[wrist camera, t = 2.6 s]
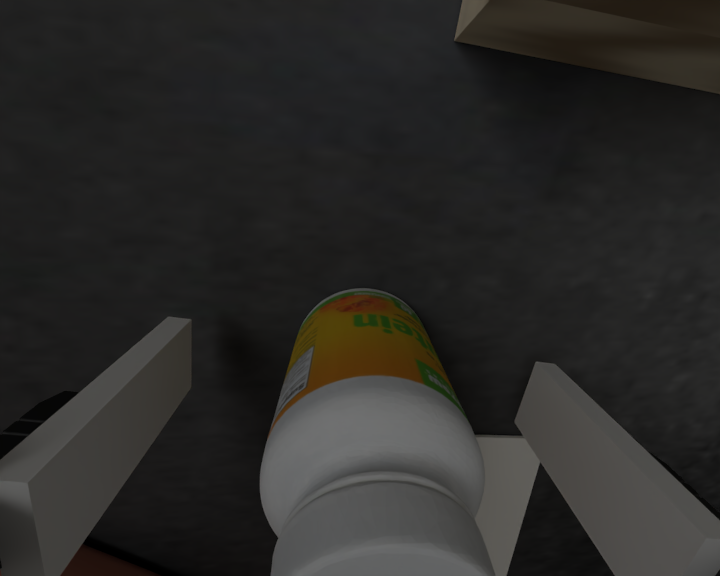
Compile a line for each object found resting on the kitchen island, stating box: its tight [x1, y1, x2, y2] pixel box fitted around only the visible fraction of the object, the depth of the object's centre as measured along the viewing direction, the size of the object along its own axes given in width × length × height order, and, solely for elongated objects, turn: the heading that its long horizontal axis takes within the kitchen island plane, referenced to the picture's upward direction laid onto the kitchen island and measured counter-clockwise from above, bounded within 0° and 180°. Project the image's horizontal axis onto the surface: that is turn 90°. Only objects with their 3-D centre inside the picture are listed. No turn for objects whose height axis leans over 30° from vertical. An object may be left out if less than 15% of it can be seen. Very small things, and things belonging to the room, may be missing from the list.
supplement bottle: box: [260, 288, 496, 576], centre depth 10 cm, size 5×5×10 cm
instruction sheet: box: [475, 435, 540, 576], centre depth 19 cm, size 10×14×1 cm
